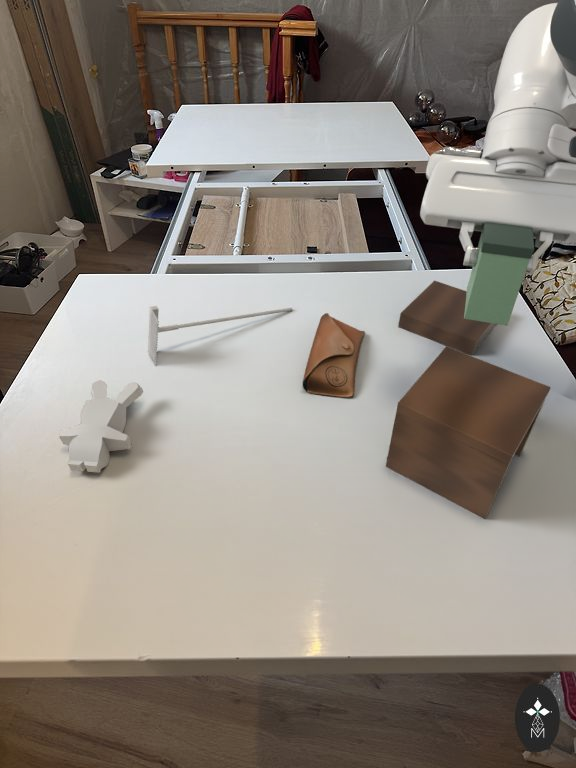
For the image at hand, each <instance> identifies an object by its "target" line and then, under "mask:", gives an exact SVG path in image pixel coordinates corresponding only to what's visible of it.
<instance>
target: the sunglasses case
mask: <svg viewBox="0 0 576 768" xmlns="http://www.w3.org/2000/svg"><path fill="white" fill-rule="evenodd" d="M365 335H366V332H365V330H359V329H357V328H356V327H353V326H351V325H349V324H347V323H345V322H343V321H341V320H339V319H336V318H335V317H333V316H330V313H327V312H326V313H324V314H323V315H322V316H320V319H319V322H318V325H317V329H316V331H315V335H314V338H313V341H312V344H311V348H310V352H309V355H308V359H307V362H306V367H305V370H304V373H303V379H302V388H303V389H304V391H305V392H306V393H308V394H310V395H311V394H312V395H317V396H321V397H330V398H345V399H346V398H347V399H348V398H352V397H354V395H355V384H356V372H357V367H358V360H359V355H360V350H361V348H362V347H361V346H362V342H363V340H364V338H365Z"/></svg>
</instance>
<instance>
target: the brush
mask: <svg viewBox="0 0 576 768" xmlns="http://www.w3.org/2000/svg"><path fill="white" fill-rule="evenodd" d="M148 311H149V313H148V315H149V316H148V334H147V335H148V339H147V354H148V356H149V357H150V359H151V362H152V363H153V365H154V366H157V361H158V360H157V359H158V357H157V356H158V345H159V342H158V341H159V339H158V338H159V333H163V332H164V333H165V332H170V331H178V330H179V329H184V328H190V327H197V326H203V325H211V324H215V323H223V322H230V321H234V320H235V321H236V320H242V319H249V318H253V317H254V318H255V317H260V316H261V317H262V316H268V315H274V314H281V313H287V312H293V308H292V307H285V308H279V309H273V310H267V311H259V312H254V313H246V314H240V315H239V314H238V315H233V316H227V317H220V318H213V319H208V320H207V319H206V320H200V321H195V322H194V321H193V322H187V323H180V324H170V325H163V326H160V324H159V323H160V321H159V312H160V311H159V307H158V306H157V305H154V306H153V305H152V306H149V310H148Z"/></svg>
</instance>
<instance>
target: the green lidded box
mask: <svg viewBox="0 0 576 768" xmlns="http://www.w3.org/2000/svg"><path fill="white" fill-rule="evenodd" d="M477 248H479V249H480V250H479V255H478V260H477V264H476V266H475V267H472V268H471V272H470V274H469V275H470V276H469V280H468V282H467V288H466V291H467V293H466V304H465V314H464V319H470V320H476V321H482V322H488V323H494V324H496V325H500V326H501V325H502V326H508V325H509V322H510V319H511V317H512V313H513V311H514V307H515V304H516V301H517V298H518V295H519V293H520V290H521V286H522V284H523V281H524V277H525V275H526V274H525V272H526V269H527V266H528V263H529V260H530V259H531V258H532V255H533V254H534V253H535V240H534V238H533V228H530V227H522V226H514V225H506V224H498V223H490V222H485V223H483V229H482V232H481V234H480V237H479V241H478V245H477Z"/></svg>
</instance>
